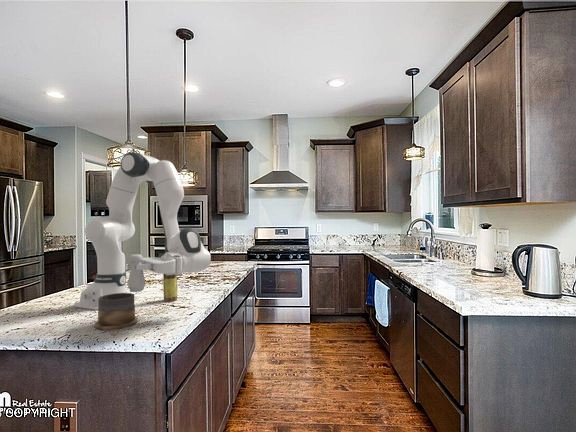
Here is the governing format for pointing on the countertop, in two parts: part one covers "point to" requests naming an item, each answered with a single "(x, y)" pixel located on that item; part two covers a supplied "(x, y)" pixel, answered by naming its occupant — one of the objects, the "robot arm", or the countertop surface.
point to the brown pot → (116, 311)
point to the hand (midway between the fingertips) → (133, 266)
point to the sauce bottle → (170, 287)
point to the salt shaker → (136, 274)
